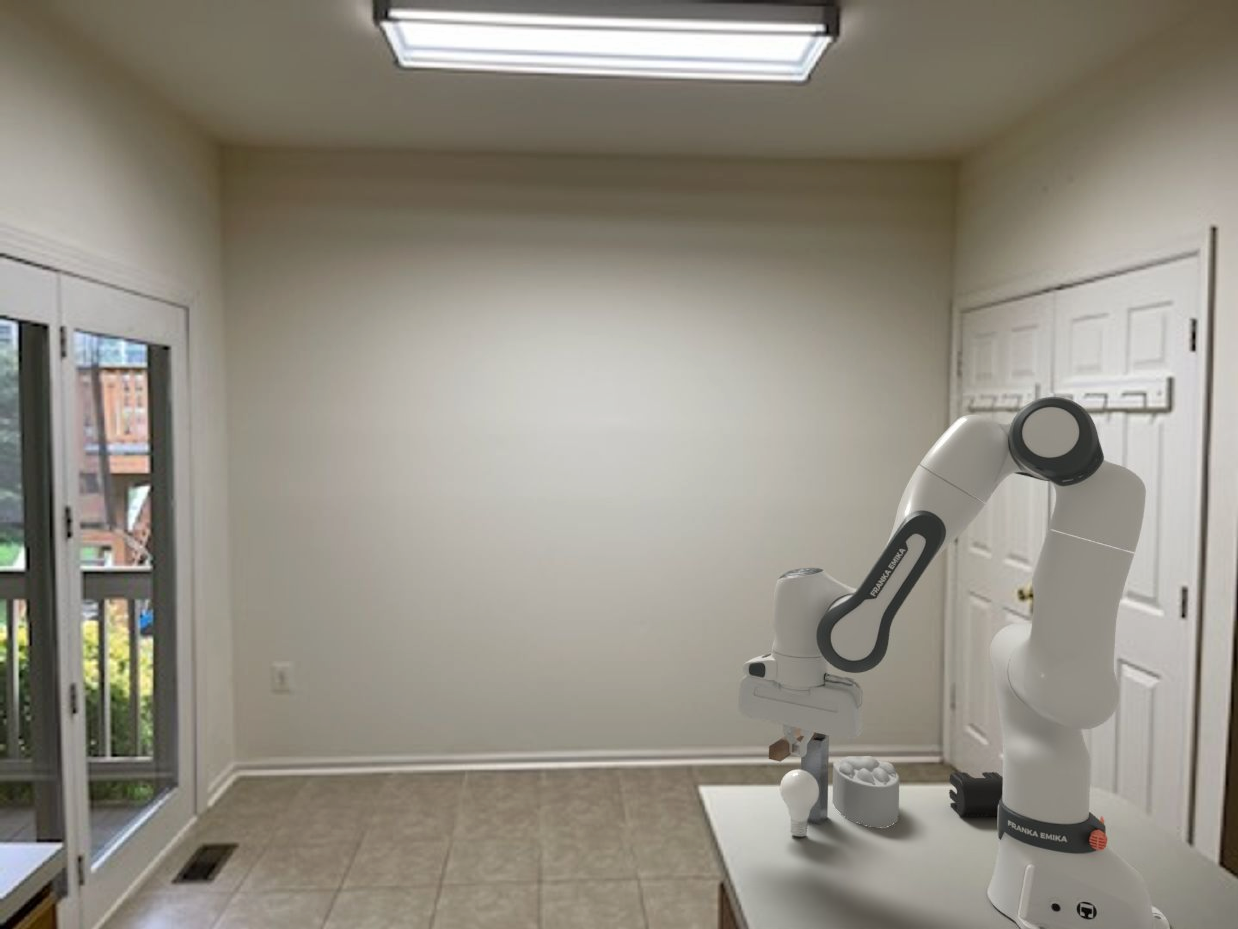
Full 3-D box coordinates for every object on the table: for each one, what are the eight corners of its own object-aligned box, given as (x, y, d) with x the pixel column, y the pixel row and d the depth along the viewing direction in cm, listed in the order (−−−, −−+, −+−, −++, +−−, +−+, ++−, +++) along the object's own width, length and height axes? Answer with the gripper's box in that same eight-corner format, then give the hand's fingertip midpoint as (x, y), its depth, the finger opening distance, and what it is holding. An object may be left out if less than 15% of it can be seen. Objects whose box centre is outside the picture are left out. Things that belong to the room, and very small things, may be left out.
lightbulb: (815, 828, 144) (816, 764, 144) (820, 846, 138) (821, 779, 138) (777, 826, 145) (778, 762, 145) (781, 844, 139) (782, 777, 138)
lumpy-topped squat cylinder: (881, 796, 158) (882, 750, 158) (911, 828, 145) (912, 777, 145) (826, 797, 157) (827, 751, 157) (851, 829, 144) (852, 779, 144)
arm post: (827, 817, 149) (829, 735, 148) (820, 824, 146) (821, 741, 145) (807, 811, 151) (809, 731, 150) (800, 819, 148) (801, 737, 147)
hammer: (829, 734, 148) (829, 719, 148) (784, 765, 134) (785, 748, 134) (809, 729, 150) (810, 715, 150) (764, 759, 136) (764, 743, 136)
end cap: (964, 824, 147) (965, 785, 147) (946, 806, 154) (947, 769, 154) (1020, 823, 147) (1021, 784, 147) (1000, 805, 154) (1001, 768, 154)
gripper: (869, 675, 133) (868, 763, 133) (751, 655, 145) (750, 735, 145) (855, 685, 128) (853, 776, 128) (734, 662, 140) (732, 746, 140)
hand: (797, 754), depth 137 cm, fingers closed
